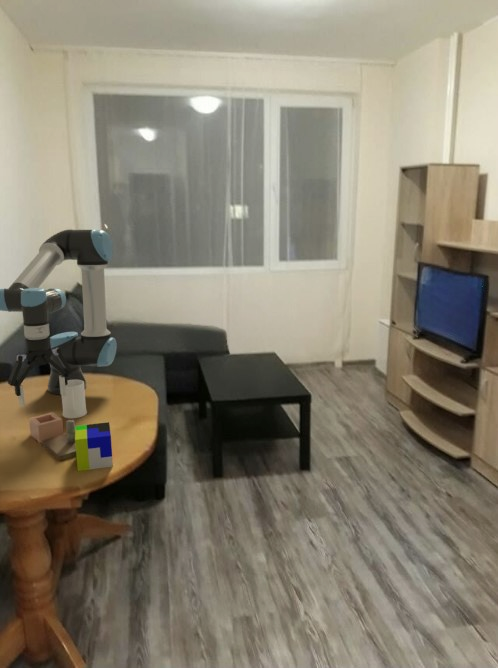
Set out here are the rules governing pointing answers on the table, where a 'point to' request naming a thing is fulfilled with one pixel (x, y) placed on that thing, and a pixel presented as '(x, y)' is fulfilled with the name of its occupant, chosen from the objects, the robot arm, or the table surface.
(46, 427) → the collar
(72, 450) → the square plate with peg
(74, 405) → the mug
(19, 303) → the robot arm
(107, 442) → the puzzle toy
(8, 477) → the table surface
